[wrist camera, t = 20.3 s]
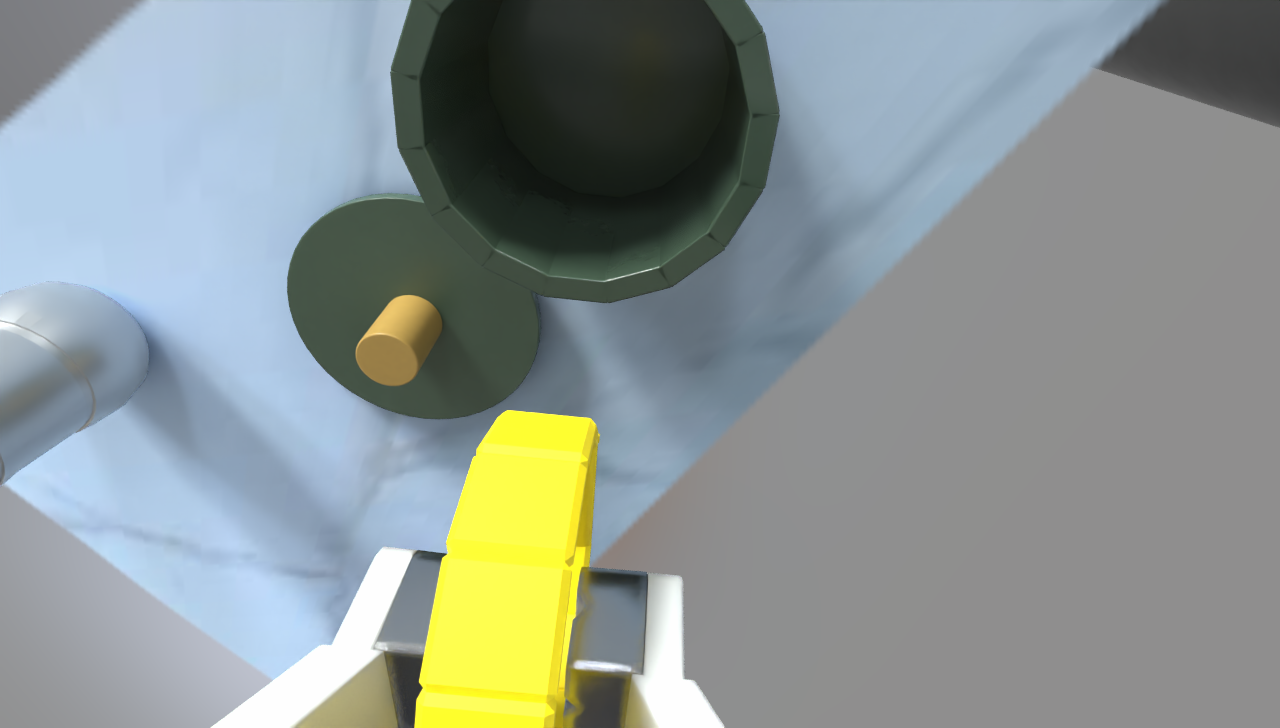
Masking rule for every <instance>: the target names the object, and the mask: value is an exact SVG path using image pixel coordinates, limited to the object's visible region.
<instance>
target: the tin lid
mask: <svg viewBox="0 0 1280 728" xmlns="http://www.w3.org/2000/svg"><path fill="white" fill-rule="evenodd" d="M287 294H288V301H289V307H290V311H291V314H292V318H293V321H294V324H295V326H296V328H297V331H298V333H299V335H300V337H301V339H302V340H303V342H304V344H305V345H306V347H307V349H308V350H309V351H310V353H311V354H312V355H313V357H314V358H315V360H316V361H317V362H318V363H319V364H320V365H321V366H322V367H323V368H324V370H325V371H326V372H327V373H328V374H330V375H331V376H332V377H333V378H334V379H335V380H336V381H337V382H339V383H340V384H341V385H343V386H344V387H345V388H347V389H348V390H349V391H351V392H352V393H354V394H356V395H357V396H359V397H361V398H362V399H364V400H366V401H368V402H370V403H372V404H374V405H376V406H379V407H381V408H384V409H387V410H389V411H392V412H395V413H399V414H403V415H407V416H412V417H418V418H425V419H451V418H459V417H465V416H469V415H472V414H476V413H479V412H482V411H484V410H486V409H489V408H491V407H493V406H495V405H496V404H498V403H500V402H501V401H503V400H504V399H506V398H507V397H508V396H509V395H510V394H512V393H513V392H514V391H515V390H516V389H517V388H518V386H519V385H520V384H521V383H522V382H523V380H524V379H525V377H526V376H527V374H528V373H529V371H530V369H531V367H532V364H533V362H534V360H535V357H536V354H537V350H538V346H539V342H540V334H541V314H540V308H539V303H538V298H537V296H536V293H535V292H533V291H531V290H529V289H526V288H524V287H522V286H520V285H518V284H516V283H514V282H512V281H510V280H508V279H506V278H503V277H501V276H499V275H497V274H495V273H493V272H491V271H489V270H487V269H485V268H483V266H480V265H479V264H478V263H477V262H476V261H475V260H474V259H473V258H472V257H471V256H470V255H469V254H468V253H467V252H466V251H465V250H464V249H463V248H462V247H461V246H460V245H459V244H458V243H457V242H456V241H455V240H454V239H453V238H452V237H451V236H450V235H449V234H448V233H447V232H446V231H445V230H444V229H443V228H442V227H441V226H440V225H439V224H437V223H436V222H435V221H434V220H433V219H432V216H431V215H430V213H429V211H428V209H427V207H426V205H425V203H424V201H423V199H422V197H421V196H415V195H409V194H393V193H387V194H375V195H369V196H365V197H360V198H356V199H353V200H351V201H348V202H346V203H343V204H341V205H339V206H337V207H336V208H334V209H332V210H331V211H329V212H327V213H326V214H325V215H324V216H322V217H321V218H320V219H319V220H318V221H317V222H315V223H314V224H313V225H312V226H311V227H310V228H309V229H308V230H307V232H306V233H305V234H304V235H303V236H302V238H301V240H300V241H299V243H298V245H297V247H296V248H295V250H294V253H293V256H292V259H291V262H290V266H289V271H288V277H287Z"/></svg>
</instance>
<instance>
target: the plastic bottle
mask: <svg viewBox="0 0 1280 728" xmlns="http://www.w3.org/2000/svg"><path fill="white" fill-rule="evenodd" d="M148 365H149V348H148V342H147V340H146V337H145V335H144V332H143V331H142V329H141V327H140V326H139V324H138V323H137V321H136V320H135V319H134V318H133V317H132V315H131V314H130V313H129V312H128V311H127V310H126V309H124V308H123V307H122V306H121V305H120V304H119V303H117V302H116V301H114V300H113V299H112V298H110V297H108V296H106V295H105V294H103V293H101V292H99V291H97V290H94V289H91V288H89V287H86V286H81V285H77V284H71V283H64V282H51V281H47V282H40V283H35V284H32V285H28V286H25V287H22V288H19V289H15V290H12V291H9V292H6V293H4V294H1V295H0V487H1V486H2V485H3V484H4V483H5V482H7V481H8V480H9V479H10V478H11V477H12V476H13V475H14V474H15V473H17V472H18V471H19V470H21V469H22V468H24V467H25V466H27V465H28V464H30V463H31V462H33V461H34V460H35V459H37V458H38V457H40V456H41V455H43V454H44V453H46V452H47V451H49V450H50V449H52V448H53V447H55V446H56V445H57V444H59V443H60V442H62V441H63V440H65V439H66V438H68V437H69V436H71V435H72V434H74V433H76V432H79V431H81V430H83V429H85V428H87V427H89V426H91V425H93V424H95V423H97V422H98V421H100V420H102V419H103V418H105V417H106V416H108V415H110V414H111V413H113V412H115V411H116V410H118V409H119V408H121V407H122V406H124V405H125V404H126V403H127V401H128V400H129V399H130V398H131V396H132V395H133V394H134V393H135V391H136V390H137V389H138V388H139V386H140V385H141V384H142V382H143V381H144V380H145V378H146V375H147V373H148Z"/></svg>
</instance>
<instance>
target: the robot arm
mask: <svg viewBox="0 0 1280 728" xmlns="http://www.w3.org/2000/svg"><path fill="white" fill-rule="evenodd" d="M446 555H447V554H444V553H436V552H428V551H420V550H410V549H401V548H392V547H383V548H382V549H381V550H380V551H379V552H378V553H377V554H376V555H375V557H374V559H373V561H372V563H371V565H370V567H369V569H368V571H367V574H366V576H365V578H364V580H363V582H362V584H361V586H360V588H359V590H358V592H357V594H356V596H355V598H354V600H353V602H352V604H351V606H350V608H349V610H348V613H347V615H346V617H345V619H344V621H343V623H342V625H341V627H340V629H339V631H338V633H337V635H336V637H335V639H334V641H333V643H332V645H320V646H318V647H317V648H316V649H314V650H313V651H312V652H310V653H309V654H308V655H306V656H305V657H304V658H303V659H301V660H300V661H299V662H297V663H296V664H295V665H293V666H292V667H291V668H289V669H288V670H287V671H285V672H284V673H283V674H281V675H280V676H279V677H277V678H276V679H275V680H273V681H272V682H271V683H269V684H268V685H267V686H266V687H264V688H263V689H262V690H260V691H259V692H257V693H256V694H255V695H253V696H252V697H251V698H250V699H248V700H247V701H246V702H244V703H243V704H242V705H240V706H239V707H238V708H236V709H235V710H234V711H232V712H231V713H230V714H228V715H227V716H226V717H224V718H223V719H222V720H220V721H219V722H218V723H216V724H215V725H214V726H212V727H211V728H415V716H416V702H417V698H418V696H419V694H420V693H421V691H422V689H423V687H422V686H421V684H420V683H419V679H420V674H421V669H422V663H423V658H424V653H425V647H426V642H427V637H428V632H429V626H430V621H431V616H432V610H433V605H434V600H435V595H436V589H437V584H438V579H439V573H440V568H441V563H442V558H443V557H444V556H446ZM683 596H684V595H683V580H682V578H681V576H675V575H665V574H655V573H648V574H647V572H641V571H629V570H628V571H627V570H616V569H605V568H593V567H581V570H580V575H579V581H578V587H577V598H576V612H575V618H574V619H573V620H572V627H571V634H570V641H569V648H568V655H567V662H566V673H565V690H564V697H565V698H566V699H565V706H564V713H563V728H725V727H724V725H723V724H722V722H721V720H720V719H719V717H718V716H717V714H716V713H715V711H714V709H713V708H712V706H711V705H710V704H709V702H708V700H707V698H706V697H705V696H704V694H703V692H702V691H701V689H700V688H699V686H698V684H697V683H696V681H694V680H688V679H685V678H684V676H685V675H684V598H683Z"/></svg>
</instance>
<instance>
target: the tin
mask: <svg viewBox="0 0 1280 728" xmlns="http://www.w3.org/2000/svg"><path fill="white" fill-rule="evenodd" d="M390 74H391V84H392V94H393V105H394V115H395V125H396V135H397V145H398V149H399V152H400V154H401V156H402V158H403V160H404V162H405V164H406V166H407V168H408V170H409V172H410V174H411V176H412V178H413V181H414V183H415V185H416V187H417V189H418V191H419V193H420V195H421V197H422V199H423V201H424V203H425V205H426V207H427V209H428V211H429V213H430V215H431V216H432V219H433V220H434V221H435V222H436V223H437V224H439V225H440V226H441V227H442V228H443V229H444V230H445V231H446V232H447V233H448V234H449V235H450V236H451V237H452V238H453V239H454V240H455V241H456V242H457V243H458V244H459V245H460V246H461V247H462V248H463V249H464V250H465V251H466V252H467V253H468V254H469V255H470V256H471V257H472V258H473V259H474V260H475V261H476V262H477V263H478V264H479V265H480V266H483V268H485V269H487V270H489V271H491V272H493V273H495V274H497V275H499V276H501V277H503V278H506V279H508V280H510V281H512V282H514V283H516V284H518V285H520V286H522V287H524V288H526V289H529V290H531V291H533V292H535V293H537V294H539V295H541V296H542V295H543V296H544V297H553V298H562V299H571V300H581V301H590V302H600V303H612V302H616V301H620V300H624V299H628V298H632V297H635V296H639V295H643V294H647V293H651V292H655V291H659V290H663V289H667V288H670V287H673V286H674V285H675V284H677V283H678V282H680V281H681V280H682V279H684V278H685V277H687V276H688V275H690V274H691V273H692V272H694V271H695V270H697V269H698V268H699V267H701V266H702V265H704V264H705V263H706V262H708V261H709V260H711V259H712V258H713V257H715V256H716V255H718V254H719V253H721V252H722V251H723V250H725V247H726V246H727V245H728V244H729V242H730V241H731V239H732V238H733V236H734V235H735V233H736V232H737V230H738V229H739V227H740V226H741V224H742V222H743V221H744V219H745V218H746V216H747V215H748V213H749V212H750V210H751V209H752V207H753V206H754V204H755V203H756V201H757V199H758V198H759V196H760V195H761V193H762V192H763V189H764V188H765V185H766V180H767V176H768V171H769V166H770V161H771V156H772V151H773V146H774V141H775V136H776V131H777V126H778V121H779V116H780V115H779V106H778V100H777V95H776V89H775V84H774V79H773V73H772V68H771V63H770V57H769V52H768V46H767V41H766V36H765V33H764V32H763V28H762V26H761V25H760V23H759V22H758V20H757V19H756V17H755V15H754V14H753V12H752V11H751V9H750V8H749V6H748V5H747V3H746V2H745V0H411V3H410V6H409V9H408V13H407V16H406V19H405V23H404V26H403V29H402V33H401V36H400V39H399V43H398V46H397V49H396V53H395V56H394V59H393V63H392V66H391V72H390Z"/></svg>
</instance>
